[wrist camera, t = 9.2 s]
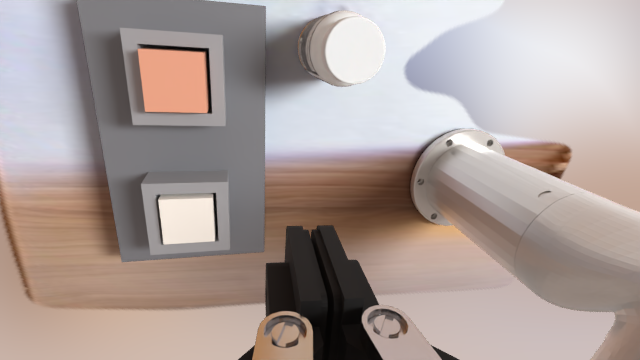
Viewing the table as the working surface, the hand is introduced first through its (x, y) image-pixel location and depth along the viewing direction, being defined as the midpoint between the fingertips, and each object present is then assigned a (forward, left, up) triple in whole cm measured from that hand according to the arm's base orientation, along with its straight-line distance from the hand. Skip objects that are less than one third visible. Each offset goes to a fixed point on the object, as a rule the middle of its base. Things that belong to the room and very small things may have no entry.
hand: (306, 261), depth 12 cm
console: (+7, +2, -25) cm, 26 cm away
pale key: (+7, +8, -21) cm, 24 cm away
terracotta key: (+7, -4, -21) cm, 22 cm away
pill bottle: (-6, -7, -25) cm, 27 cm away
